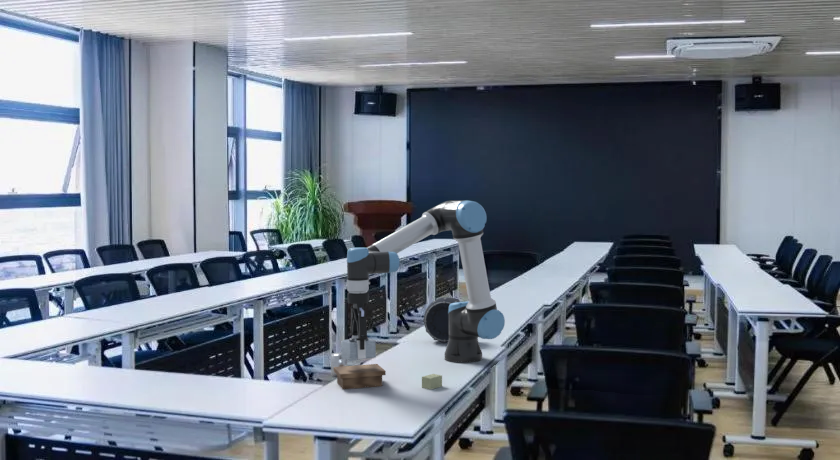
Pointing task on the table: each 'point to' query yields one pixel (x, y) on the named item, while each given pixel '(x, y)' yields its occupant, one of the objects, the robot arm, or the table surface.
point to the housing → (351, 351)
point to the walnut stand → (359, 376)
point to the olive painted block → (432, 381)
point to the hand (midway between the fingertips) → (358, 356)
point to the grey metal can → (337, 362)
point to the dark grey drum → (438, 318)
